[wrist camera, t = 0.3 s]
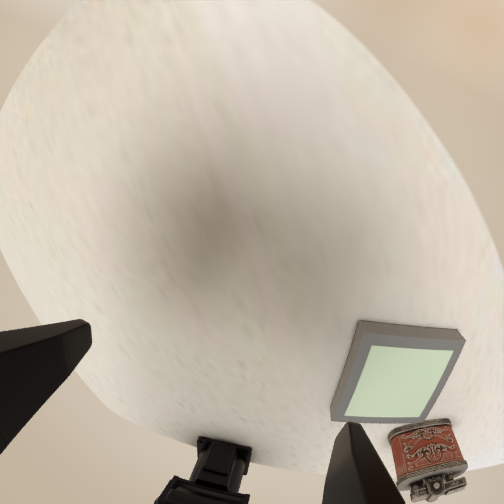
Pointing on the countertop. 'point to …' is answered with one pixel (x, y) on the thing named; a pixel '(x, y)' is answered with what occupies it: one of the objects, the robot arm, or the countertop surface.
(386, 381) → the baseplate
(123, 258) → the countertop surface
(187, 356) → the countertop surface
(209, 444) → the robot arm
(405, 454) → the lighter
